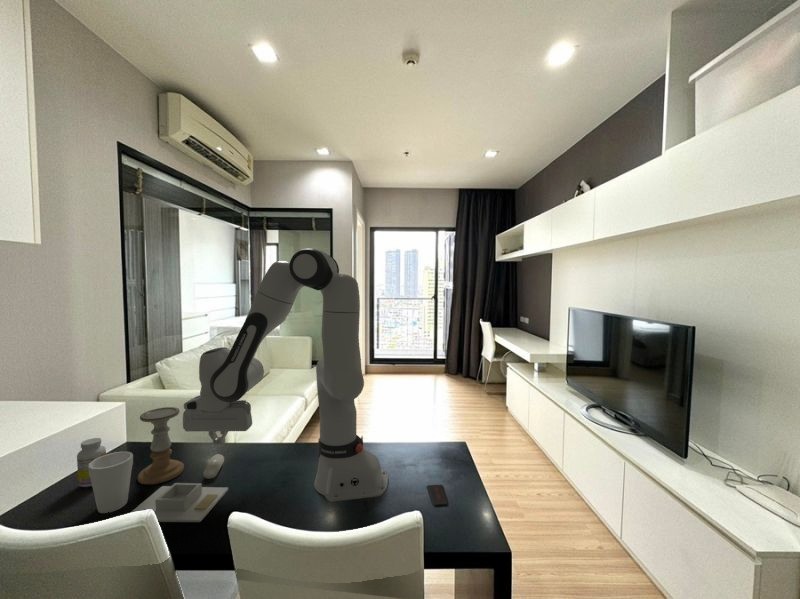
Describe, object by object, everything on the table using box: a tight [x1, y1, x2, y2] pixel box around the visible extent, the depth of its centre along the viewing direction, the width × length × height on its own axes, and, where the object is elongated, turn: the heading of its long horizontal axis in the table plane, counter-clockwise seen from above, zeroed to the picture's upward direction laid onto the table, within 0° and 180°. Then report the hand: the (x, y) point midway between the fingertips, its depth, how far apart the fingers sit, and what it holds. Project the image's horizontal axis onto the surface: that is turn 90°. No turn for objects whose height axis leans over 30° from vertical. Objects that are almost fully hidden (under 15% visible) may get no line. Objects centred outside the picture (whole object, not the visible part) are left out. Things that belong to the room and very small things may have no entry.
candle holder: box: [137, 406, 185, 485], centre depth 110 cm, size 12×12×20 cm
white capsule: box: [202, 453, 225, 480], centre depth 113 cm, size 4×4×9 cm
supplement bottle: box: [76, 437, 107, 488], centre depth 106 cm, size 7×7×13 cm
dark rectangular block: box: [426, 484, 450, 507], centre depth 98 cm, size 5×12×3 cm, turn 5°
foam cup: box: [89, 451, 134, 514], centre depth 95 cm, size 10×9×13 cm
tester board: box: [131, 482, 229, 523], centre depth 95 cm, size 20×14×4 cm
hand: (219, 443), depth 107 cm, fingers closed
